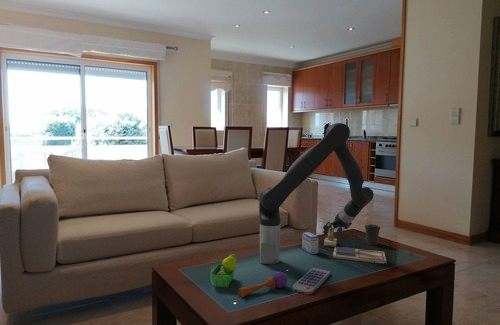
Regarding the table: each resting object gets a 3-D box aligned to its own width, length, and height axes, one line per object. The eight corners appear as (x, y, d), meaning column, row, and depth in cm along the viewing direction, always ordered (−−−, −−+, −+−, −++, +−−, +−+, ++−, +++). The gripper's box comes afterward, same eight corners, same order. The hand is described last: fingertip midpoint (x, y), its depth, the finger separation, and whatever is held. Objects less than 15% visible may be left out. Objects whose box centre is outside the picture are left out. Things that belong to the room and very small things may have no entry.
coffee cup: (364, 245, 186) (365, 226, 185) (363, 240, 194) (364, 222, 193) (380, 246, 184) (381, 227, 183) (379, 242, 192) (379, 223, 191)
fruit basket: (218, 275, 144) (218, 248, 143) (239, 277, 143) (239, 250, 142) (210, 287, 133) (210, 258, 132) (233, 289, 132) (233, 260, 131)
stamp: (335, 247, 182) (336, 231, 182) (324, 246, 184) (324, 230, 183) (336, 243, 188) (337, 228, 187) (325, 242, 190) (325, 227, 189)
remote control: (330, 275, 147) (330, 270, 147) (310, 296, 127) (311, 290, 127) (312, 271, 151) (312, 266, 151) (290, 291, 132) (290, 285, 131)
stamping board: (386, 263, 160) (386, 261, 160) (332, 258, 166) (333, 255, 166) (384, 253, 173) (384, 251, 173) (334, 248, 180) (334, 246, 180)
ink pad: (355, 256, 166) (355, 254, 166) (335, 254, 168) (335, 251, 168) (355, 250, 174) (355, 248, 174) (336, 248, 177) (336, 246, 177)
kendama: (235, 283, 128) (279, 268, 139) (237, 299, 128) (282, 283, 138) (243, 286, 123) (288, 270, 133) (245, 303, 123) (291, 286, 133)
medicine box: (301, 249, 178) (302, 232, 177) (309, 248, 180) (309, 231, 179) (310, 254, 171) (311, 237, 170) (318, 253, 173) (318, 235, 172)
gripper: (354, 208, 179) (339, 225, 190) (330, 210, 173) (316, 228, 185) (360, 221, 175) (345, 237, 186) (337, 224, 169) (322, 240, 180)
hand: (331, 232), depth 185 cm, fingers open, 8 cm apart
